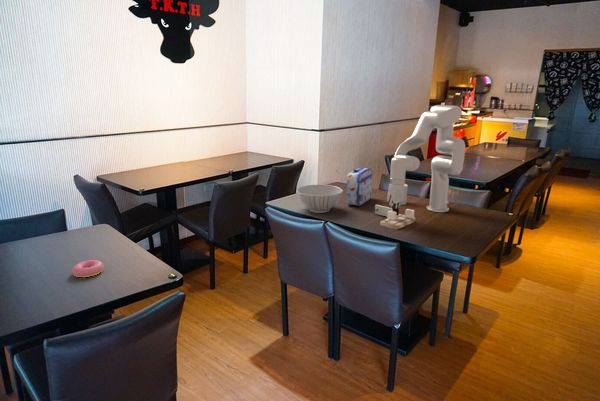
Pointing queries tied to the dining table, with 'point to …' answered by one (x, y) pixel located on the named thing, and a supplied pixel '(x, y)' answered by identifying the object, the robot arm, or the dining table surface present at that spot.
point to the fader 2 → (409, 213)
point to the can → (405, 195)
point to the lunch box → (359, 186)
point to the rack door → (382, 210)
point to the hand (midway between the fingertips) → (395, 214)
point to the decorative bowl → (319, 197)
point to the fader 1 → (391, 215)
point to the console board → (397, 222)
